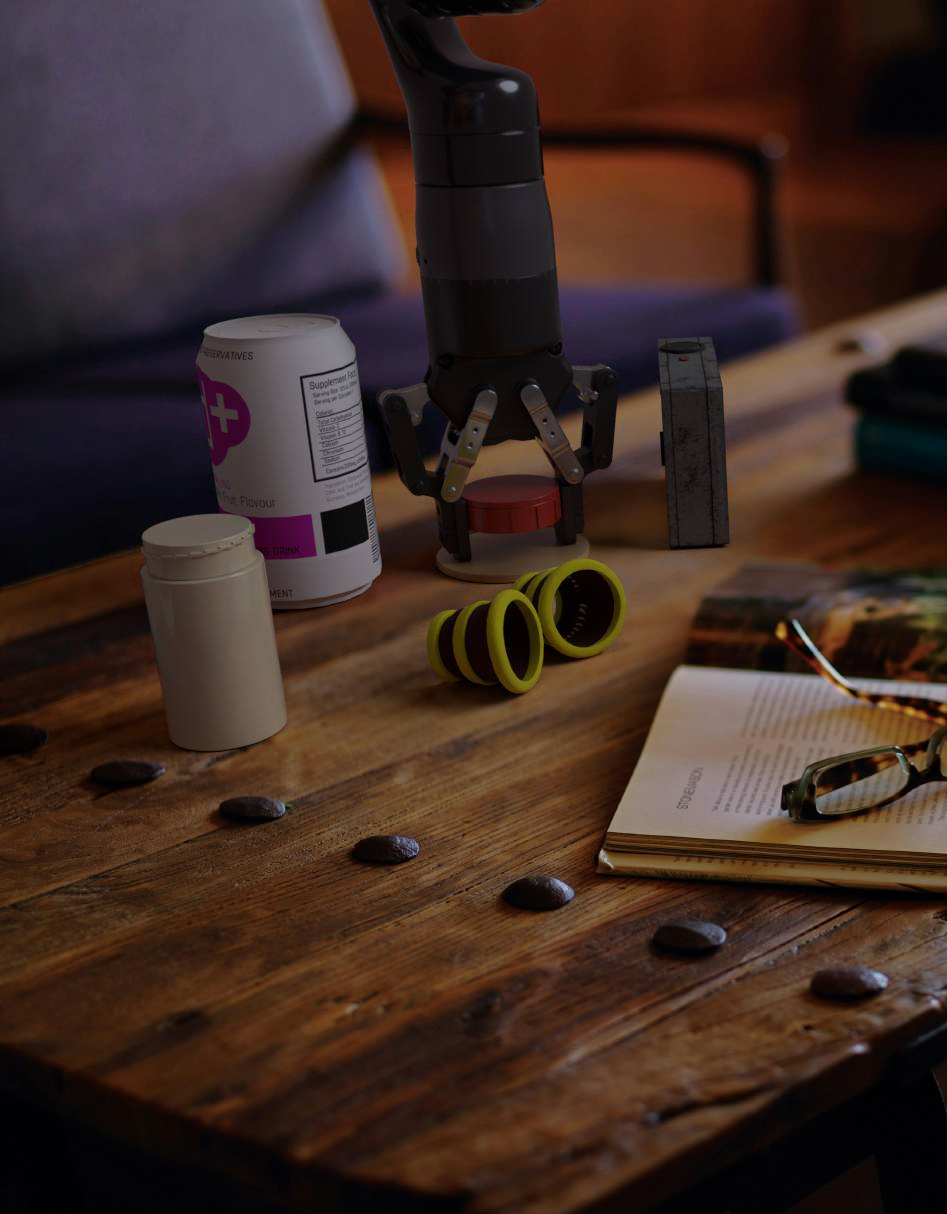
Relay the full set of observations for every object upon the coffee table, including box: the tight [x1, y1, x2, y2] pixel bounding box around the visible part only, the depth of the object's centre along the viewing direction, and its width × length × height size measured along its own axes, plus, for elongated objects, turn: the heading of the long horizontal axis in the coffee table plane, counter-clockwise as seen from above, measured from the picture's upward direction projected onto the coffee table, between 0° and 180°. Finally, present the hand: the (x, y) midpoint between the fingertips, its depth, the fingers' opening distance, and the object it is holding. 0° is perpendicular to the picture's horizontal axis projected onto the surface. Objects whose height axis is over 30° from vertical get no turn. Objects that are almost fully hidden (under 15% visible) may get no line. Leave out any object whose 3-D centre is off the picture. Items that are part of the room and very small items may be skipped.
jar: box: [140, 513, 289, 752], centre depth 73 cm, size 5×5×10 cm
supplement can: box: [195, 312, 383, 610], centre depth 90 cm, size 8×8×15 cm
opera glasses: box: [426, 558, 627, 694], centre depth 80 cm, size 10×5×5 cm, turn 148°
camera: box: [656, 336, 731, 548], centre depth 103 cm, size 16×4×10 cm, turn 6°
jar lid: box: [461, 473, 562, 534], centre depth 96 cm, size 6×6×2 cm
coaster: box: [435, 526, 591, 584], centre depth 97 cm, size 9×9×1 cm
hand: (514, 548), depth 97 cm, fingers closed on jar lid, 5 cm apart
